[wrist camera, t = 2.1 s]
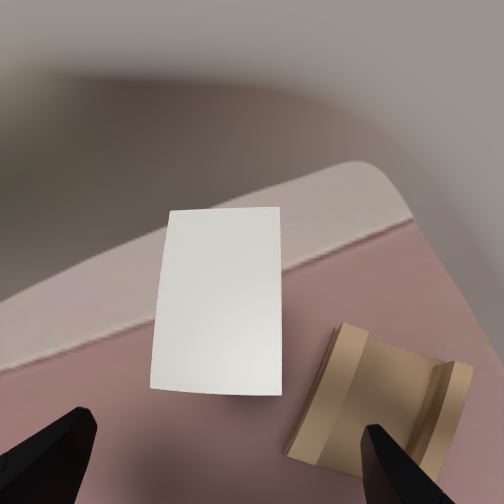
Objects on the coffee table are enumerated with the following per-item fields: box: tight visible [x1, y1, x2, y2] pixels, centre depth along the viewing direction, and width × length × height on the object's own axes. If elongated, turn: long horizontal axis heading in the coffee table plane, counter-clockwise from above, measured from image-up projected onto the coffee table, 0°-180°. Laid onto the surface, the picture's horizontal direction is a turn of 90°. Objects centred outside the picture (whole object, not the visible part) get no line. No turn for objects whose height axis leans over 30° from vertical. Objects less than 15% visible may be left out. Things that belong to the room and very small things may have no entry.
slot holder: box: [282, 322, 474, 482], centre depth 16 cm, size 9×9×4 cm
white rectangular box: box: [150, 207, 282, 395], centre depth 15 cm, size 6×4×12 cm, turn 179°
